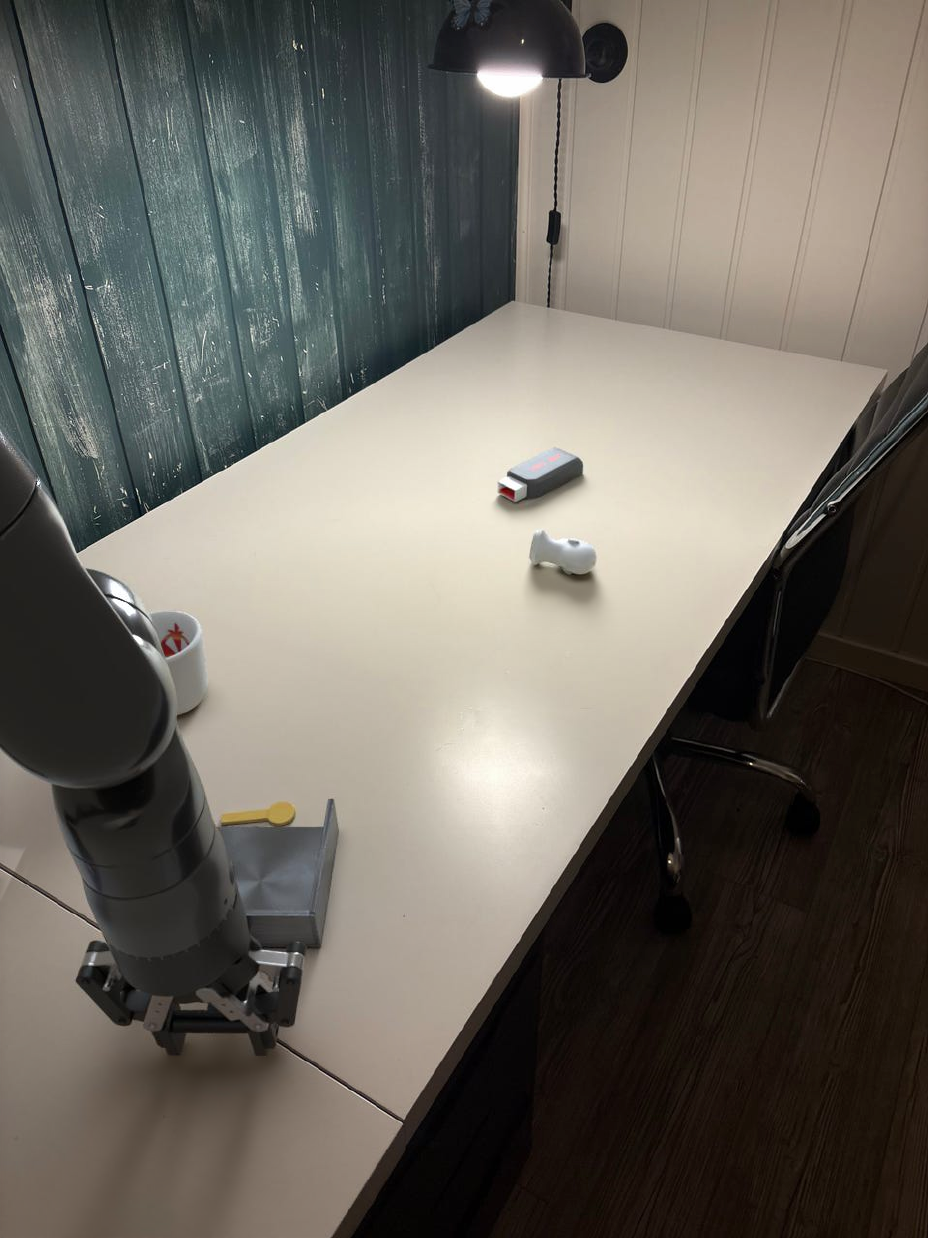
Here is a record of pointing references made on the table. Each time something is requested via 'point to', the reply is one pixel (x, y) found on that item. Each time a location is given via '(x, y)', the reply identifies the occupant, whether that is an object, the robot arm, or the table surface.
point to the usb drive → (540, 475)
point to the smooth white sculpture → (562, 553)
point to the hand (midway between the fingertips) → (222, 1042)
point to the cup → (183, 656)
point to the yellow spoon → (262, 815)
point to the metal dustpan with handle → (275, 895)
